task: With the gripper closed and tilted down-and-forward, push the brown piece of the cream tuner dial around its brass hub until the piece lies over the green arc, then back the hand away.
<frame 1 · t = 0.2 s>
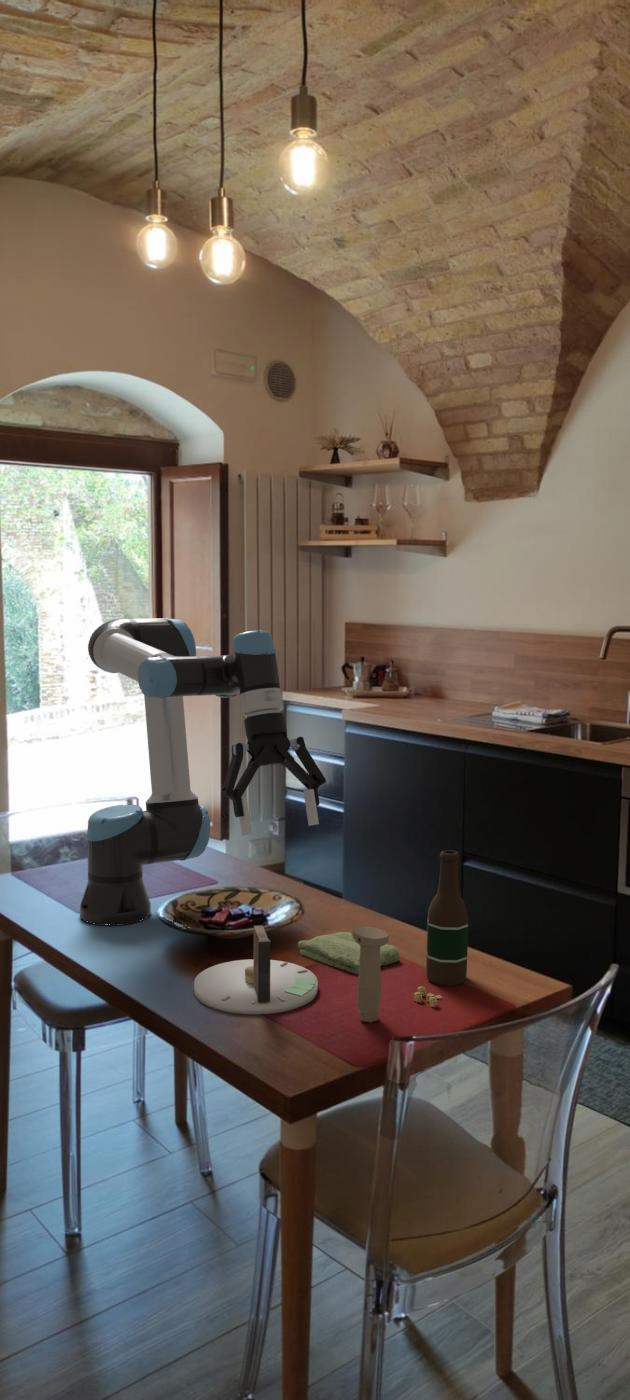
hand: (281, 830, 191), 28 cm above the table, fingers open, 13 cm apart
dice set: (426, 1004, 185), on the table
handle: (368, 1020, 176), on the table
beer bottle: (445, 979, 195), on the table
brown piece: (259, 959, 183), point 7 cm above the table, hinge at 0.0°
dial: (256, 989, 188), on the table
washcloth: (347, 959, 206), on the table
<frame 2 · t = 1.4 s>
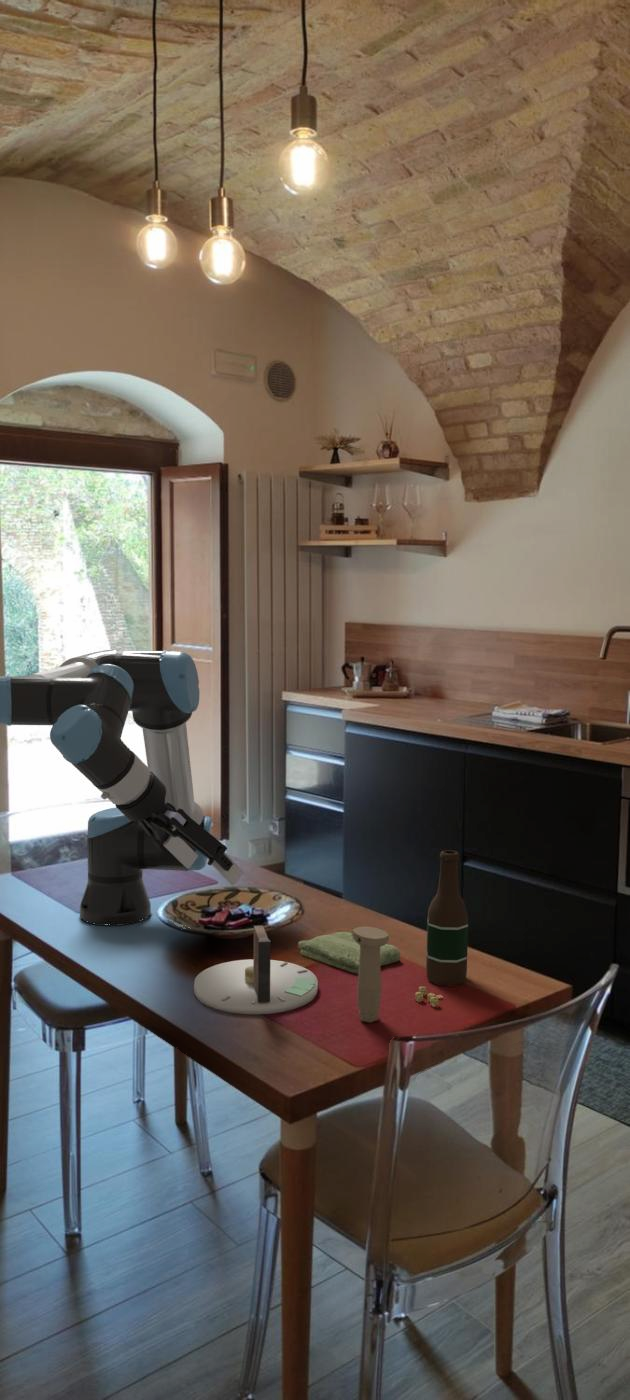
hand: (214, 870, 171), 26 cm above the table, fingers open, 12 cm apart
nothing on the table moved.
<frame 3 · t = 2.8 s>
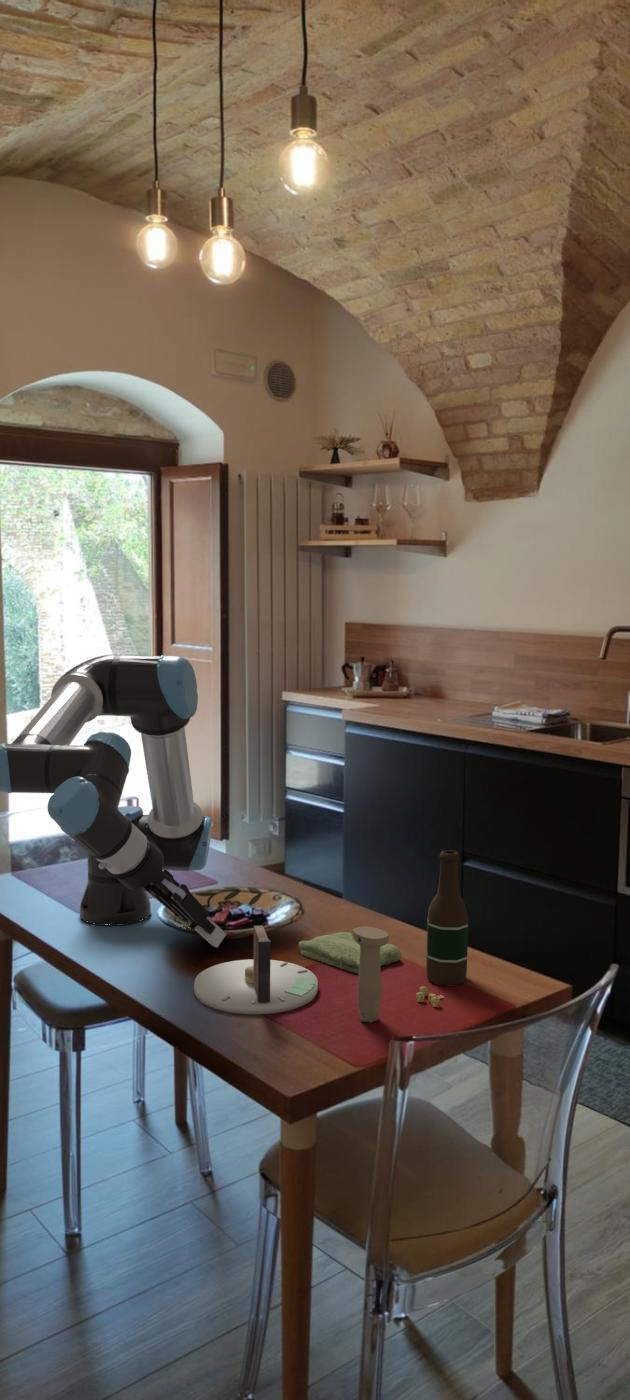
hand: (219, 939, 173), 14 cm above the table, fingers closed
nothing on the table moved.
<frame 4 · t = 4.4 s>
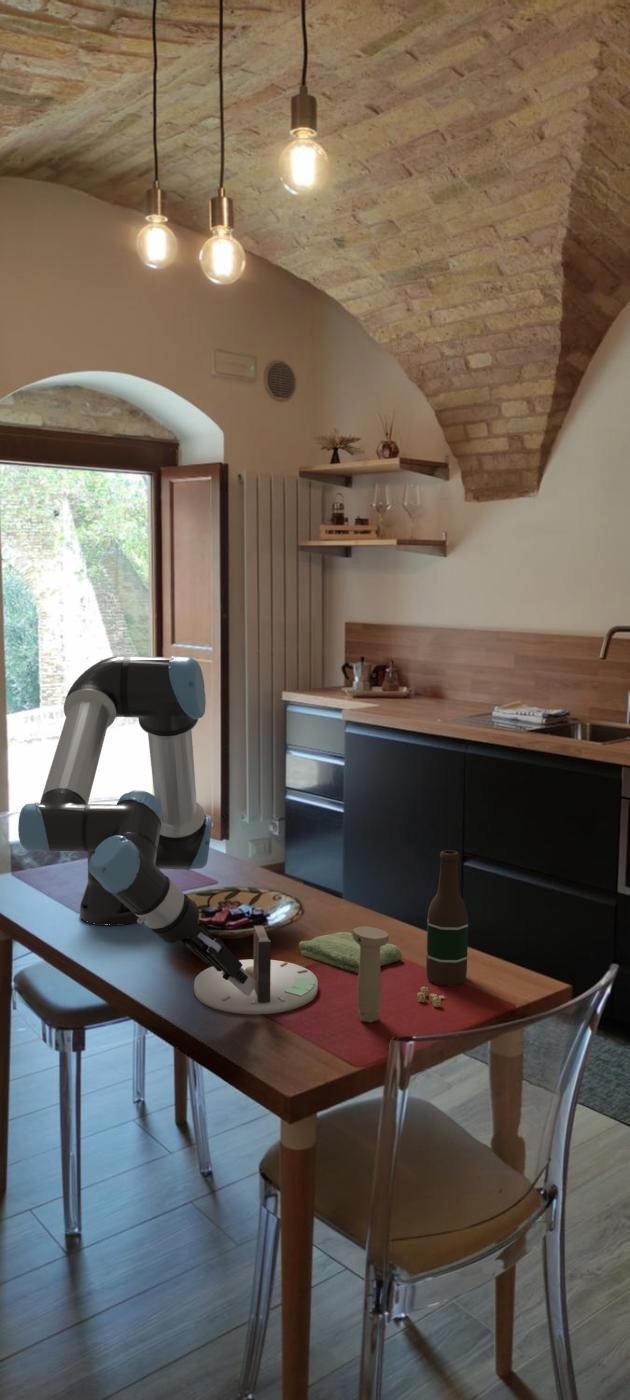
hand: (250, 988, 178), 4 cm above the table, fingers closed
brown piece: (259, 959, 183), point 7 cm above the table, hinge at 0.2°, touching gripper
everything else where it was.
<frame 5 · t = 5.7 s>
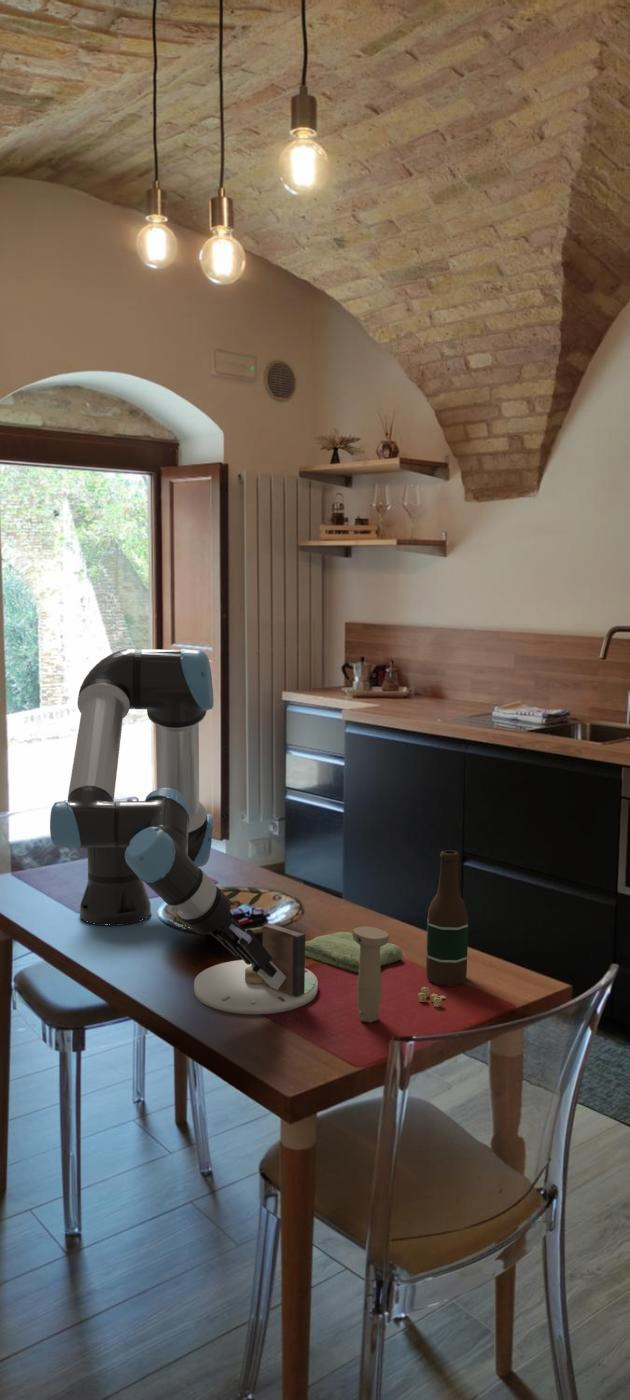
hand: (278, 982, 181), 4 cm above the table, fingers closed
brown piece: (274, 956, 185), point 7 cm above the table, hinge at 38.3°, touching gripper
everything else where it was.
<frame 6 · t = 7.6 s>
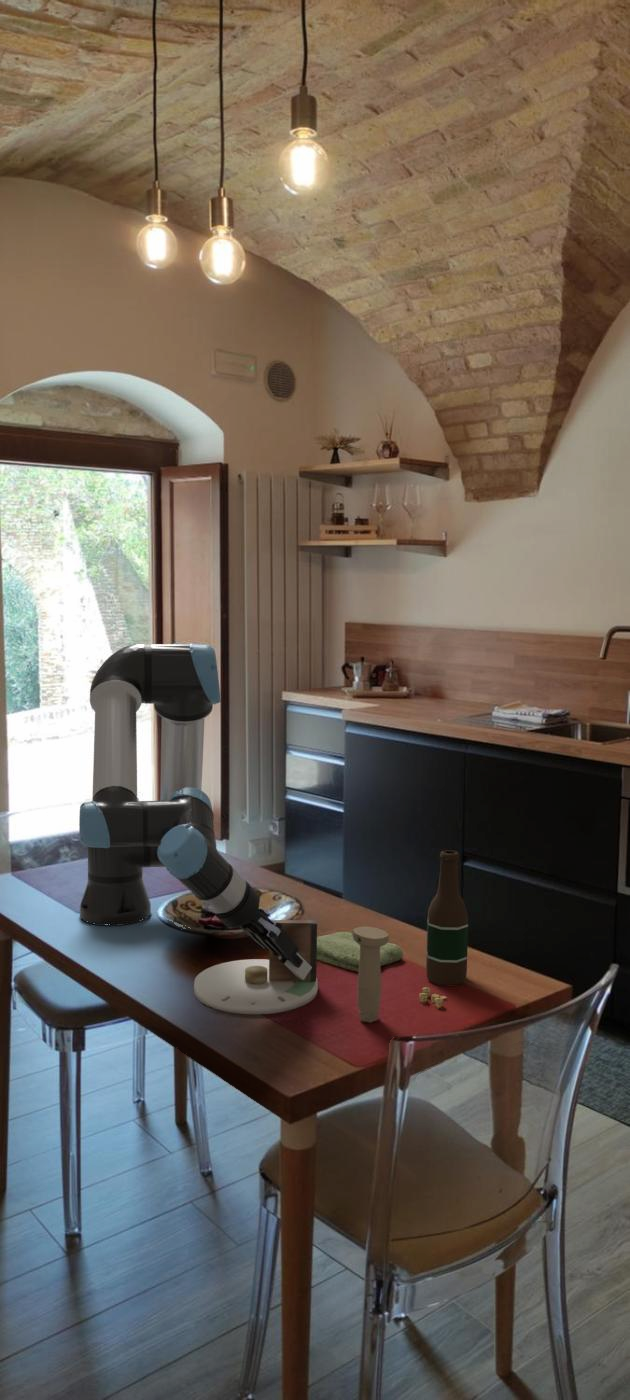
hand: (304, 972, 186), 4 cm above the table, fingers closed
brown piece: (280, 950, 188), point 7 cm above the table, hinge at 81.6°, touching gripper
everything else where it was.
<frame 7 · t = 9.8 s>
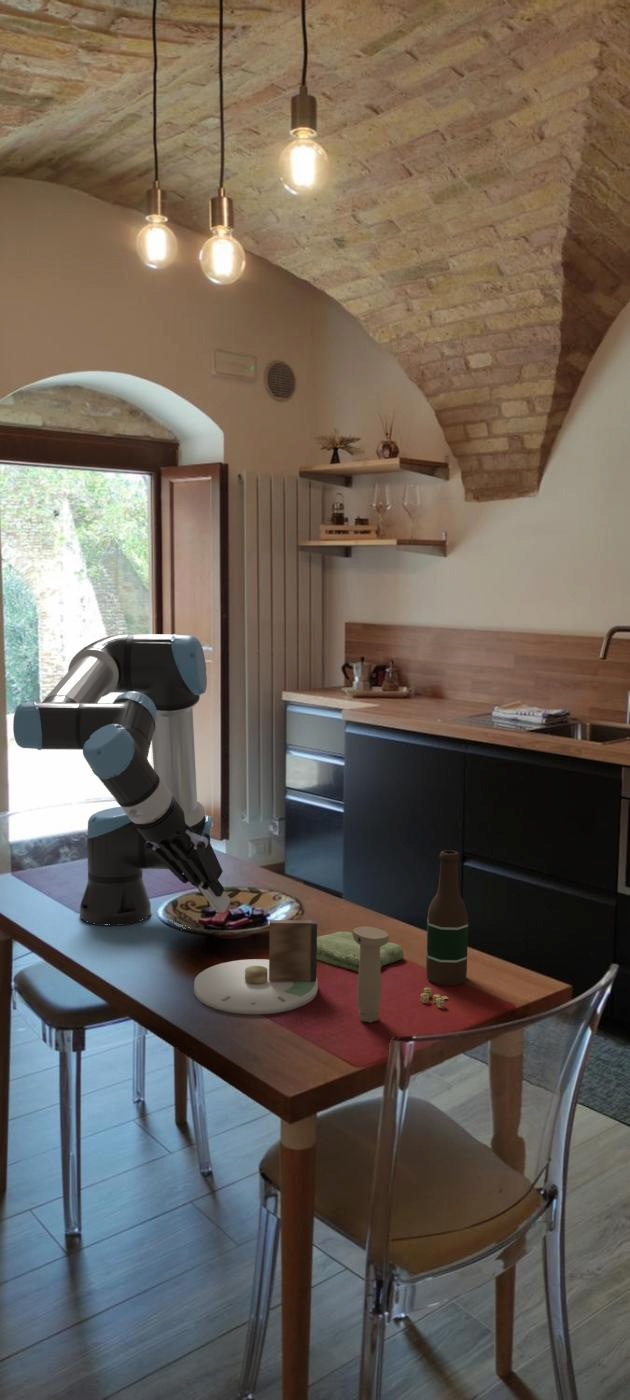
hand: (223, 906, 178), 18 cm above the table, fingers closed
brown piece: (280, 950, 188), point 7 cm above the table, hinge at 81.6°
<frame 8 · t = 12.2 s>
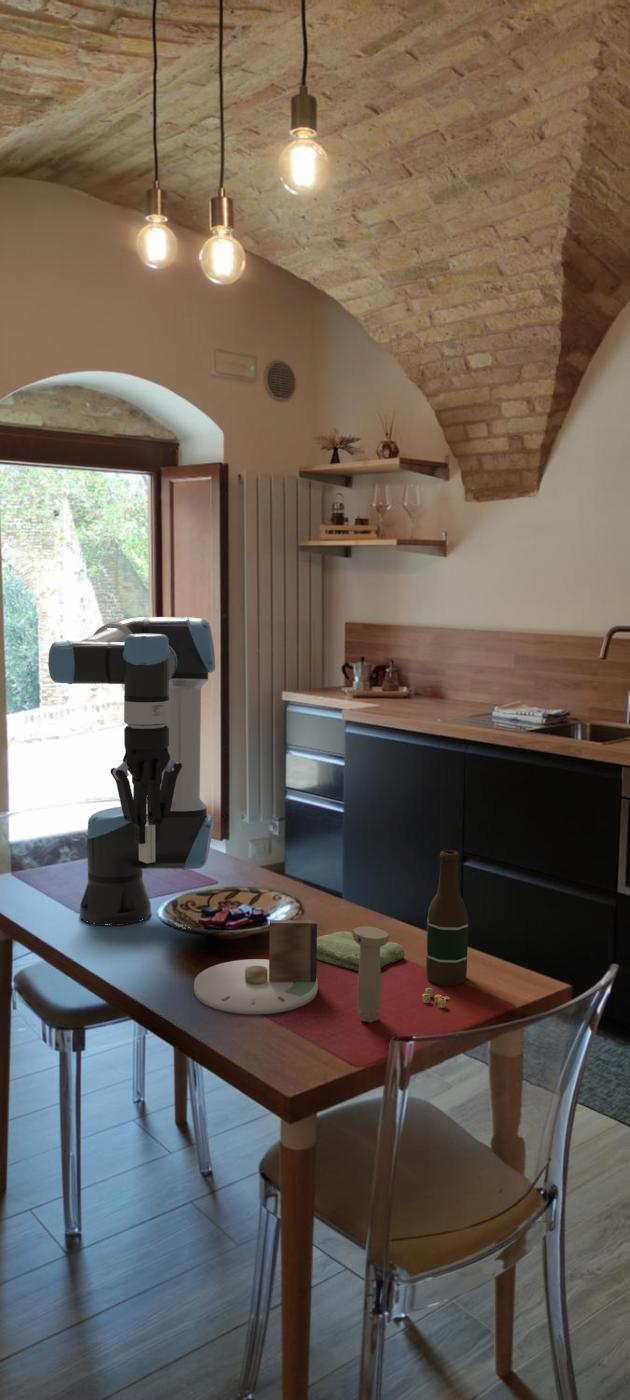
hand: (147, 860, 181), 24 cm above the table, fingers closed
at the end: brown piece at +82° (first picture: +0°) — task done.
